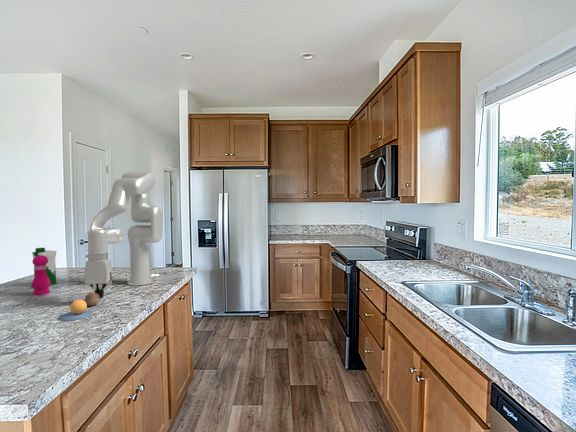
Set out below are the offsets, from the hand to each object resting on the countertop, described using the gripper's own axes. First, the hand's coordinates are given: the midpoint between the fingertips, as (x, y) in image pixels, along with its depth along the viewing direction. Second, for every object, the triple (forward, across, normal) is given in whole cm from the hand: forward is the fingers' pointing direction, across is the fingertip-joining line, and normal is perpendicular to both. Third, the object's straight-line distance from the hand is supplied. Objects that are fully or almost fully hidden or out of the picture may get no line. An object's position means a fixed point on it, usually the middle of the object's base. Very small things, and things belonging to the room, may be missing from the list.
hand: (99, 298), depth 143 cm
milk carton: (+2, -45, +33) cm, 56 cm away
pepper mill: (+2, -35, +16) cm, 38 cm away
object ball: (-1, 0, -16) cm, 16 cm away
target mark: (+2, 0, -18) cm, 18 cm away
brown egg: (-1, 0, -6) cm, 6 cm away
